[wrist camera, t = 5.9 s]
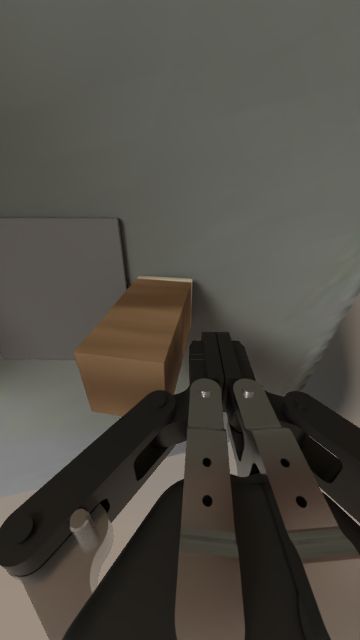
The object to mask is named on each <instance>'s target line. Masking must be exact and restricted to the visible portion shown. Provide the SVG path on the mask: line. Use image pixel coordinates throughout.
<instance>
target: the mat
mask: <svg viewBox="0 0 360 640" xmlns="http://www.w3.org/2000/svg"><path fill="white" fill-rule="evenodd" d="M127 289H128V288H127V280H126V272H125V264H124V256H123V249H122V241H121V233H120V225H119V218H0V352H1V354H2V356H3V358H4V359H40V360H76V358H75V354H74V351H75V350H76V349H77V348H78V347H79V345H80V344H81V343H82V342H83V341H84V340H85V338H86V337H87V336H88V335H89V334H90V333H91V331H92V330H93V329H94V328H95V327H96V325H97V324H98V323H99V322H100V321H101V320H102V318H103V317H104V316H105V315H106V314H107V313H108V311H109V310H110V309H111V308H112V307H113V306H114V304H115V303H116V302H117V301H118V300H119V299H120V297H121V296H122V295H123V294H124V293H125V292H126V290H127Z"/></svg>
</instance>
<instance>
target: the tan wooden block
mask: <svg viewBox="0 0 360 640" xmlns="http://www.w3.org/2000/svg"><path fill="white" fill-rule="evenodd" d="M192 280H193V279H185V278H171V277H157V276H143V275H139V276H138V278H137V279H136V280H135V281H134V282H133V283H132V285H131V286H130V287H129V288H128V289H127V290H126V292H125V293H124V294H123V295H122V296H121V297H120V299H119V300H118V301H117V302H116V303H115V304H114V306H113V307H112V308H111V309H110V310H109V311H108V313H107V314H106V315H105V316H104V317H103V318H102V320H101V321H100V322H99V323H98V324H97V325H96V327H95V328H94V329H93V330H92V331H91V333H90V334H89V335H88V336H87V337H86V338H85V340H84V341H83V342H82V343H81V344H80V345H79V347H78V348H77V349H76V350H75V351H74V354H75V358H76V361H77V364H78V367H79V371H80V374H81V377H82V381H83V384H84V387H85V390H86V394H87V397H88V400H89V404H90V407H91V410H92V411H94V412H100V413H106V414H112V415H118V416H124V415H125V414H126V413H127V412H128V411H129V410H131V409H132V408H133V407H134V406H135V405H136V404H137V403H139V402H140V401H141V400H142V399H143V398H144V397H145V396H147V395H148V394H149V393H151V392H153V391H156V390H164V391H168V392H169V393H171V394H172V395H174V391H175V387H176V383H177V379H178V375H179V371H180V367H181V363H182V359H183V355H184V351H185V347H186V343H187V339H188V335H189V331H190V327H191V311H192Z"/></svg>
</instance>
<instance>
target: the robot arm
mask: <svg viewBox="0 0 360 640" xmlns="http://www.w3.org/2000/svg"><path fill="white" fill-rule="evenodd" d="M189 378H190V386H189V387H188V388H187V389H186V390H185V391H184V392H182V393H179V394H176V395H172V394H171V393H169V392H168V391H164V390H156V391H153V392H151V393H149V394H148V395H147V396H145V397H144V398H143V399H142V400H141V401H140V402H139V403H137V404H136V405H135V406H134V407H133V408H132V409H131V410H129V411H128V412H127V413H126V414H125V415H124V416H123V417H121V418H120V419H119V420H118V421H117V422H116V423H115V424H113V425H112V426H111V427H110V428H109V429H108V430H107V431H105V432H104V433H103V434H102V435H101V436H100V437H99V438H97V439H96V440H95V441H94V442H93V443H92V444H91V445H89V446H88V447H87V448H86V449H85V450H84V451H83V452H81V453H80V454H79V455H78V456H77V457H76V458H75V459H73V460H72V461H71V462H70V463H69V464H68V465H67V466H66V467H64V468H63V469H62V470H61V471H60V472H59V473H58V474H56V475H55V476H54V477H53V478H52V479H51V480H50V481H48V482H47V483H46V484H45V485H44V486H43V487H42V488H40V489H39V490H38V491H37V492H36V493H35V494H34V495H32V496H31V497H30V498H29V499H28V500H27V501H26V502H25V503H24V504H22V505H21V506H20V507H19V508H18V509H16V510H15V511H14V512H13V513H12V514H11V515H10V516H9V517H8V518H7V519H6V520H5V522H4V523H3V525H2V526H1V528H0V565H1V566H2V567H4V568H5V569H6V570H7V572H8V573H9V574H10V575H11V576H13V577H14V578H15V579H16V580H18V581H19V582H21V583H22V584H23V585H24V587H25V589H26V591H27V594H28V596H29V598H30V600H31V602H32V604H33V606H34V608H35V610H36V612H37V615H38V617H39V619H40V621H41V623H42V625H43V627H44V629H45V631H46V634H47V636H48V638H49V640H360V526H359V525H358V524H357V523H356V522H355V521H354V520H352V518H350V517H349V516H348V515H347V514H346V513H345V512H344V511H343V510H342V509H341V508H340V507H339V506H338V505H337V504H336V503H334V502H333V501H332V500H331V499H330V498H329V497H328V496H327V495H325V494H324V493H323V492H321V490H320V488H321V489H322V490H323V491H325V492H326V493H327V494H328V495H329V496H330V497H331V498H332V499H334V500H335V501H336V502H337V503H338V504H339V505H340V506H341V507H343V508H344V509H345V510H346V511H347V512H348V513H349V514H350V515H351V516H353V517H354V518H355V519H356V520H357V521H358V522H359V523H360V428H359V427H357V426H355V425H354V424H352V423H351V422H349V421H348V420H346V419H345V418H343V417H342V416H340V415H339V414H337V413H336V412H334V411H332V410H331V409H329V408H328V407H326V406H325V405H323V404H322V403H320V402H319V401H317V400H316V399H314V398H313V397H311V396H309V395H308V394H305V393H303V392H299V391H292V392H289V393H287V394H286V396H285V397H282V396H278V395H275V394H271V393H269V392H267V391H265V390H264V389H263V387H262V386H261V385H260V384H259V383H258V382H256V380H255V377H254V374H253V371H252V368H251V366H250V363H249V360H248V357H247V355H246V351H245V348H244V346H243V345H242V344H241V343H240V342H239V341H231V338H230V334H229V332H202V337H201V341H193V342H192V344H191V345H190V350H189ZM223 412H227V416H228V421H227V429H228V433H229V437H230V441H231V444H232V448H233V452H234V456H235V460H236V464H237V472H238V476H235V475H232V474H230V468H229V456H228V444H227V434H226V430H225V429H224V423H223ZM309 436H311V437H312V438H313V439H314V440H316V441H317V442H318V443H320V444H321V445H322V446H323V447H325V448H326V449H327V450H329V451H330V452H331V453H333V454H334V455H335V456H336V457H337V458H336V457H335V456H334V455H333V454H331V453H330V452H329V451H327V450H326V449H325V448H323V447H322V446H321V445H320V444H318V443H317V442H316V441H314V440H313V439H312V438H310V437H309ZM186 440H187V441H186ZM184 441H186V457H185V473H184V479H183V480H180V481H178V482H176V483H175V484H173V485H172V486H170V487H169V488H168V489H167V490H166V491H165V492H164V493H163V494H162V495H161V496H160V498H159V499H158V500H157V502H156V503H155V505H154V506H153V507H152V509H151V510H150V512H149V513H148V515H147V516H146V517H145V519H144V520H143V522H142V523H141V525H140V526H139V527H138V529H137V530H136V532H135V533H134V535H133V536H132V538H131V539H130V540H129V542H128V543H127V545H126V547H125V548H124V549H123V550H122V552H121V553H120V555H119V556H118V558H117V559H116V561H115V562H114V563H113V565H112V566H111V568H110V569H109V571H108V572H107V573H106V575H105V576H104V578H103V579H102V581H101V582H100V583H99V585H98V586H97V581H98V576H99V572H100V569H101V566H102V564H103V562H104V561H105V559H106V557H107V556H108V554H109V552H110V550H111V547H112V543H113V536H114V535H113V528H112V525H111V523H112V521H113V520H114V519H115V518H116V516H117V515H118V514H119V513H120V512H121V511H122V509H123V508H124V507H125V506H126V504H127V503H128V502H129V501H130V500H131V499H132V497H133V496H134V495H135V494H136V493H137V491H138V490H139V489H140V488H141V486H142V485H143V484H144V483H145V482H146V480H147V479H148V478H149V477H150V476H151V474H152V473H153V472H154V471H155V470H156V468H157V467H158V466H159V465H160V464H161V462H162V461H163V460H164V459H165V458H166V456H167V455H168V454H169V453H170V452H171V450H172V449H173V448H174V446H175V444H178V443H181V442H184ZM338 458H339V459H338ZM319 487H320V488H319Z"/></svg>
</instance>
